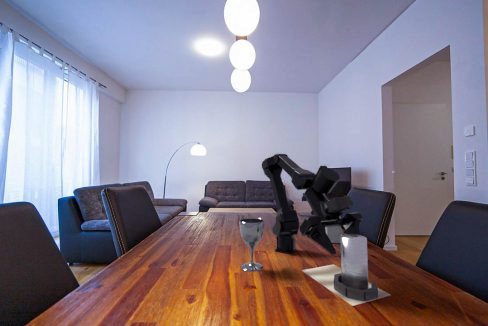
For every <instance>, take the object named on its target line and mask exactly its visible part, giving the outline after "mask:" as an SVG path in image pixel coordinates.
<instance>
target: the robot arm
mask: <svg viewBox="0 0 488 326" xmlns="http://www.w3.org/2000/svg"><path fill="white" fill-rule="evenodd" d="M261 169H262V170H263V173H264V175H265V176H266V177H267V178H268V179H269V182H270V185H271V190H272V194H273V197H274V201H275V205H276V209H277V213H276V216H275V223H274V225H273V227H272V229H271V230H272V234H273V235H275V236H276V239H275V240H276V248H274V251H275V252H280V253H285V254H292V253H294V251H296V249H297V247H296V244H297V243H296V240H297V239H296V238H295V236H296V235H298V234H299V232H300V233H301V235H302V237H306V238H307V239H311V240H312V241H314V242H316V243H317V244H319V245H320V246H321V247H322V248H323V249H325V250H326V251H328V252H329V253H330V254H332V255H333V256H335V255H336V254H337V251H336V249H335V247H334V245H333V243H331V241H330V239H329V237H328V235H327V234H326V230H325V227H333V226H340V227H341V228H342V231H343V234H357V235H361V233H360V225H361V224H362V221H363V220H364V217H363V216H362V215H361V213H360V212H354V211H353V212H347V213H346V214H345V215H344V211H346V210H350V209H352V207H353V206H354V201H353V199H352V198H351V197H350V195H342V196H337V197H333V198H332V199H328V197H327V196H326V194H330V193H331V192H332V190H333V189H334V187H335V186H336V185H337V184H338V182H339V181H340V175H339V173H338V172H336V171H335V170H333V169H331V168H329V167H328V166H327V165H320V166H319V168H318V170H317V171H316V173H314V172H312V170H308V169H305V168H302V167H300V166H299V164H297V163H296V162H295V161H293V160H292V158H290V157H289V155H288V154H287V153H275V154H274V155H272V156H270V157H267V158H265V159H264V160H263V161H262V162H261ZM283 171H285V173H286V174H287V175H288V176H289V177H290V179H291V184H292V185H293V186H294V188H295V189H296V190H298V191H301V190H305V191H304V192H303V193H302V196H301V201H302V202H307V203H308V205H309V207H310V209H311V211H310V214H311V216H305V218H304V219H303V221H302V223H301V224H300V219H299V217H298V212H297V211H296V209H292V208H291V207H290V204H289V200H288V196H287V193H286V189H285V187H284V182H283V179H282V177H281V176H282V172H283ZM342 215H344V216H343V217H342ZM339 216H341V219H339Z"/></svg>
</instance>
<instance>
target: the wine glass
mask: <svg viewBox="0 0 488 326" xmlns="http://www.w3.org/2000/svg"><path fill="white" fill-rule="evenodd" d="M264 222H265V219H264V218H261V217H244V218H241V219H239V232H240V236H241V237H240V238H241V239H242V240H243V242H244V243H245V244H246V245H247V246H248V248H249V253H250V262H245V263H242V265H240V268H241V270H243V271H245V272H251V273H255V272H256V273H257V272H259V271H262V270H263V269H264V265H263V264H262V263H259V262H255V261H254V253H255V248H256V247H257V245H258V244H259V242H260V241H261V240H262V239H263V235H264V227H265V223H264Z"/></svg>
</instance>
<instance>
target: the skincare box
mask: <svg viewBox="0 0 488 326" xmlns="http://www.w3.org/2000/svg"><path fill="white" fill-rule="evenodd" d="M339 219H342V215H341V216H339ZM325 230H326V234H327V235H328V237H329V239H330V241H331V243H332V244H341V240H340V235H342V234H343V229H342V228H341V227H340V226H333V227H325Z"/></svg>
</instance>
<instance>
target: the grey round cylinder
mask: <svg viewBox="0 0 488 326" xmlns="http://www.w3.org/2000/svg"><path fill="white" fill-rule="evenodd" d="M340 240H341V243H340V266H341V267H340V268H341V275H342V284H344V285H345V286H347V287H350V288H355V289H360V290H365V289H368V283H369V267H368V266H369V263H368V260H369V259H368V238H367V237H366V236H364V235H362V234H360V235H357V234H344V233H342V235H340Z"/></svg>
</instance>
